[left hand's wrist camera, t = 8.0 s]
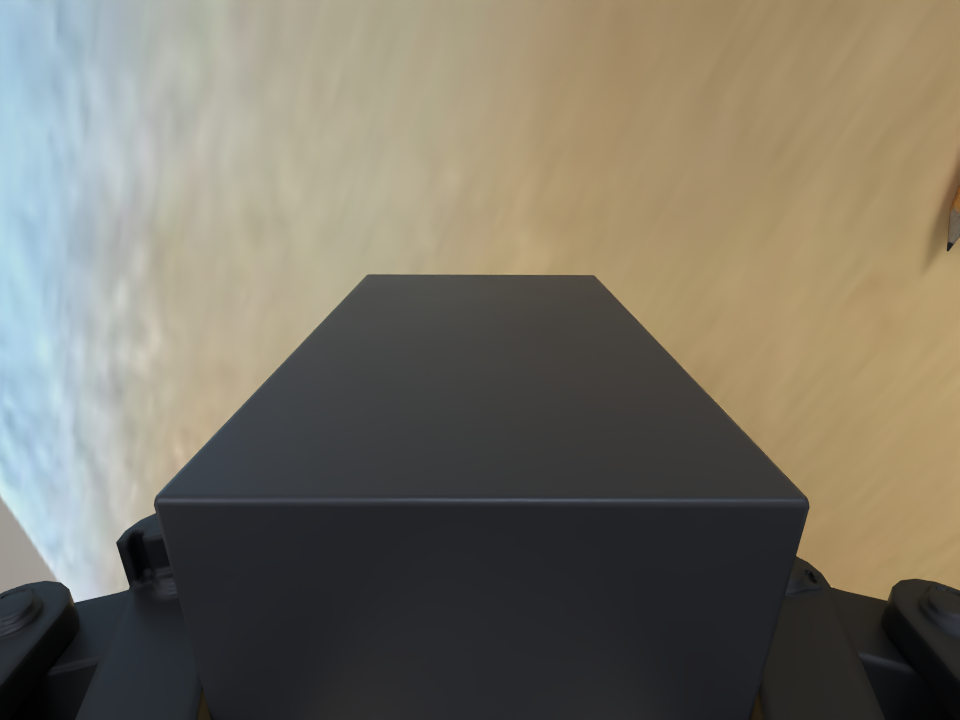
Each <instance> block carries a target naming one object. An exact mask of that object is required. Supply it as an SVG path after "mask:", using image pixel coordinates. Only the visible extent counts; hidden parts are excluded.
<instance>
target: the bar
mask: <svg viewBox="0 0 960 720" xmlns="http://www.w3.org/2000/svg"><path fill="white" fill-rule="evenodd" d="M154 507H155V510H156V514H157V518H158V522H159V525H160V529H161V533H162V537H163V540H164V544H165V548H166V552H167V555H168V559H169V563H170V567H171V571H172V574H173V578H174V582H175V586H176V589H177V593H178V597H179V601H180V604H181V608H182V612H183V616H184V619H185V623H186V627H187V631H188V634H189V638H190V642H191V646H192V649H193V653H194V657H195V661H196V664H197V668H198V672H199V676H200V679H201V683H202V687H203V691H204V694H205V698H206V702H207V706H208V709H209V713H210V717H211V720H750V719H751V715H752V712H753V708H754V705H755V701H756V697H757V694H758V690H759V687H760V683H761V679H762V676H763V672H764V669H765V665H766V661H767V658H768V654H769V651H770V647H771V643H772V640H773V636H774V633H775V629H776V625H777V622H778V618H779V615H780V611H781V607H782V604H783V600H784V597H785V593H786V589H787V586H788V582H789V579H790V575H791V572H792V568H793V564H794V561H795V557H796V554H797V550H798V546H799V543H800V539H801V536H802V532H803V528H804V525H805V521H806V518H807V514H808V510H809V501H808V499H807V497H806V496H805V495H804V494H803V493H802V492H801V491H800V490H799V489H798V488H797V487H796V486H795V485H794V484H793V483H792V482H791V480H790V479H789V478H788V477H787V476H786V475H785V474H784V473H783V472H782V471H781V470H780V469H779V468H778V467H777V466H776V465H775V464H774V463H773V462H772V461H771V460H770V459H769V458H768V456H767V455H766V454H765V453H764V452H763V451H762V450H761V449H760V448H759V447H758V446H757V445H756V444H755V443H754V442H753V441H752V440H751V439H750V438H749V437H748V436H747V435H746V433H745V432H744V431H743V430H742V429H741V428H740V427H739V426H738V425H737V424H736V423H735V422H734V421H733V420H732V419H731V418H730V417H729V416H728V415H727V414H726V413H725V412H724V410H723V409H722V408H721V407H720V406H719V405H718V404H717V403H716V402H715V401H714V400H713V399H712V398H711V397H710V396H709V395H708V394H707V393H706V392H705V391H704V390H703V389H702V387H701V386H700V385H699V384H698V383H697V382H696V381H695V380H694V379H693V378H692V377H691V376H690V375H689V374H688V373H687V372H686V371H685V370H684V369H683V368H682V367H681V366H680V365H679V363H678V362H677V361H676V360H675V359H674V358H673V357H672V356H671V355H670V354H669V353H668V352H667V351H666V350H665V349H664V348H663V347H662V346H661V345H660V344H659V343H658V342H657V340H656V339H655V338H654V337H653V336H652V335H651V334H650V333H649V332H648V331H647V330H646V329H645V328H644V327H643V326H642V325H641V324H640V323H639V322H638V321H637V320H636V319H635V317H634V316H633V315H632V314H631V313H630V312H629V311H628V310H627V309H626V308H625V307H624V306H623V305H622V304H621V303H620V302H619V301H618V300H617V299H616V298H615V297H614V296H613V294H612V293H611V292H610V291H609V290H608V289H607V288H606V287H605V286H604V285H603V284H602V283H601V282H600V281H599V280H598V279H597V278H596V277H595V276H593V275H367V276H366V277H365V278H364V279H363V280H362V281H361V282H360V283H359V284H358V285H357V286H356V287H355V288H354V289H353V290H352V291H351V292H350V293H349V295H348V296H347V297H346V298H345V299H344V300H343V301H342V302H341V303H340V304H339V305H338V306H337V307H336V308H335V309H334V310H333V311H332V312H331V313H330V314H329V315H328V316H327V318H326V319H325V320H324V321H323V322H322V323H321V324H320V325H319V326H318V327H317V328H316V329H315V330H314V331H313V332H312V333H311V334H310V335H309V336H308V337H307V338H306V340H305V341H304V342H303V343H302V344H301V345H300V346H299V347H298V348H297V349H296V350H295V351H294V352H293V353H292V354H291V355H290V356H289V357H288V358H287V359H286V360H285V362H284V363H283V364H282V365H281V366H280V367H279V368H278V369H277V370H276V371H275V372H274V373H273V374H272V375H271V376H270V377H269V378H268V379H267V380H266V381H265V382H264V384H263V385H262V386H261V387H260V388H259V389H258V390H257V391H256V392H255V393H254V394H253V395H252V396H251V397H250V398H249V399H248V400H247V401H246V402H245V403H244V404H243V406H242V407H241V408H240V409H239V410H238V411H237V412H236V413H235V414H234V415H233V416H232V417H231V418H230V419H229V420H228V421H227V422H226V423H225V424H224V425H223V426H222V428H221V429H220V430H219V431H218V432H217V433H216V434H215V435H214V436H213V437H212V438H211V439H210V440H209V441H208V442H207V443H206V444H205V445H204V446H203V447H202V448H201V450H200V451H199V452H198V453H197V454H196V455H195V456H194V457H193V458H192V459H191V460H190V461H189V462H188V463H187V464H186V465H185V466H184V467H183V468H182V469H181V470H180V472H179V473H178V474H177V475H176V476H175V477H174V478H173V479H172V480H171V481H170V482H169V483H168V484H167V485H166V486H165V487H164V488H163V489H162V490H161V491H160V492H159V494H158V495H157V496H156V498H155V502H154Z"/></svg>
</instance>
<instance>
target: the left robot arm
mask: <svg viewBox="0 0 960 720" xmlns="http://www.w3.org/2000/svg"><path fill="white" fill-rule="evenodd" d="M116 544H117V547H118V550H119V553H120V557H121V560H122V563H123V566H124V570H125V573H126V576H127V579H128V582H129V586H130V588H129V590H126V591H123V592H119V593H116V594H111V595H107V596H102V597H98V598H94V599H89V600H85V601H81V602H76V603H74V601H73V599H72V596H71V593H70V590H69V589H68V588H67V587H66V586H64V585H63V584H62V583H60V582H51V581H42V582H36V583H30V584H25V585H22V586H19V587H16V588H14V589H10V590H8V591H5V592H3V593H1V594H0V720H211V717H210V713H209V709H208V706H207V702H206V698H205V694H204V691H203V687H202V683H201V679H200V676H199V672H198V668H197V664H196V661H195V657H194V653H193V649H192V646H191V642H190V638H189V634H188V631H187V627H186V623H185V619H184V616H183V612H182V608H181V604H180V601H179V597H178V593H177V589H176V586H175V582H174V578H173V574H172V571H171V567H170V563H169V559H168V555H167V552H166V548H165V544H164V540H163V537H162V533H161V529H160V525H159V522H158V518H157V514H156V513H155V514H153V515H151V516H149V517H146V518H144V519H142V520H140V521H139V522H137V523H136V524H134V525H133V526H132V527H130V528H129V529H127V530H126V531H125V532H124V533H123V535H122V536H121V537H120V538H119V540H118V541H117V542H116ZM750 720H960V591H959V590H957V589H954V588H952V587H948V586H946V585H943V584H940V583H937V582H933V581H926V580H920V579H910V580H901V581H900V582H898V583H897V584H896V585H894V586H893V587H892V590H891V593H890V595H889V598H888V601H885V600H881V599H876V598H872V597H868V596H863V595H859V594H855V593H850V592H846V591H842V590H839V589H835V588H832V587H830V585H829V584H828V582H827V581H826V579H825V578H824V576H823V575H822V574H821V573H820V572H819V571H818V570H817V569H815V568H814V567H813V566H812V565H810V564H809V563H808V562H806V561H804V560H802V559H800V558H799V557H797V556H796V557H795V561H794V564H793V568H792V572H791V575H790V579H789V582H788V586H787V589H786V593H785V597H784V600H783V604H782V607H781V611H780V615H779V618H778V622H777V625H776V629H775V633H774V636H773V640H772V643H771V647H770V651H769V654H768V658H767V661H766V665H765V669H764V672H763V676H762V679H761V683H760V687H759V690H758V694H757V697H756V701H755V705H754V708H753V712H752V715H751V719H750Z"/></svg>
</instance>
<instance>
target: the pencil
mask: <svg viewBox="0 0 960 720" xmlns="http://www.w3.org/2000/svg"><path fill="white" fill-rule="evenodd" d="M959 237H960V186H959V188H958V191H957V193H956V196H955V198H954V201H953V203H952V206H951V209H950V220H949V232H948V243H947V251H949V250H950V249H951V247H952V246H953V245H954V243H955V242H956V241H957V239H958V238H959Z"/></svg>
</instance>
